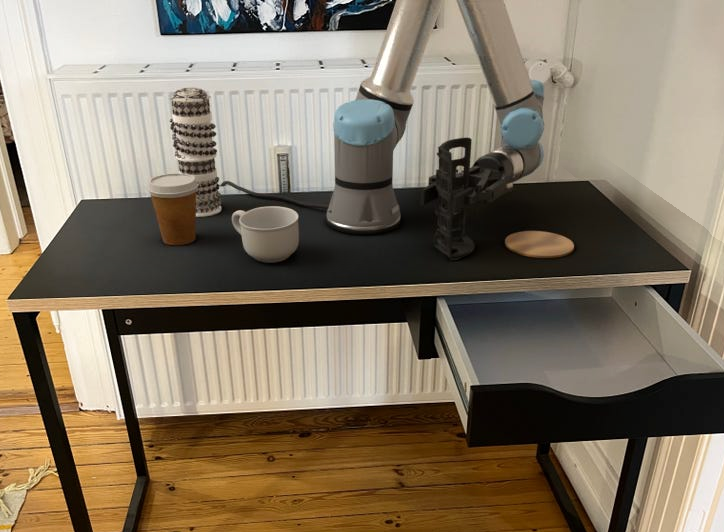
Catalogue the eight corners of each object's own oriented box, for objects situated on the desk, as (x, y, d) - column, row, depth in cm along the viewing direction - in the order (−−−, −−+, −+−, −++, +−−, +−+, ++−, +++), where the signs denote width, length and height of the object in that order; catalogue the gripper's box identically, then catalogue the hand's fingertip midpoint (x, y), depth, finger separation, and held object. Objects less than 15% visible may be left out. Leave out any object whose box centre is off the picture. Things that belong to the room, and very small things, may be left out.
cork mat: (493, 248, 146) (493, 245, 146) (522, 228, 155) (522, 226, 155) (557, 263, 139) (558, 261, 139) (584, 242, 148) (584, 239, 148)
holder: (471, 262, 140) (476, 154, 129) (430, 260, 141) (432, 153, 131) (476, 238, 149) (481, 136, 138) (437, 237, 150) (439, 135, 140)
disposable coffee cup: (213, 235, 152) (207, 175, 146) (184, 251, 145) (177, 189, 139) (174, 228, 156) (166, 170, 150) (144, 244, 148) (135, 183, 142)
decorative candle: (171, 213, 164) (155, 91, 151) (198, 201, 171) (186, 84, 158) (204, 220, 160) (192, 96, 147) (231, 207, 167) (221, 88, 154)
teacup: (312, 256, 143) (310, 215, 139) (268, 273, 136) (265, 230, 132) (263, 237, 151) (260, 198, 147) (219, 252, 144) (215, 212, 140)
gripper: (538, 197, 150) (483, 231, 133) (454, 180, 159) (393, 210, 143) (543, 159, 146) (487, 189, 130) (456, 144, 155) (394, 171, 139)
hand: (438, 200), depth 136 cm, fingers closed on holder, 6 cm apart
